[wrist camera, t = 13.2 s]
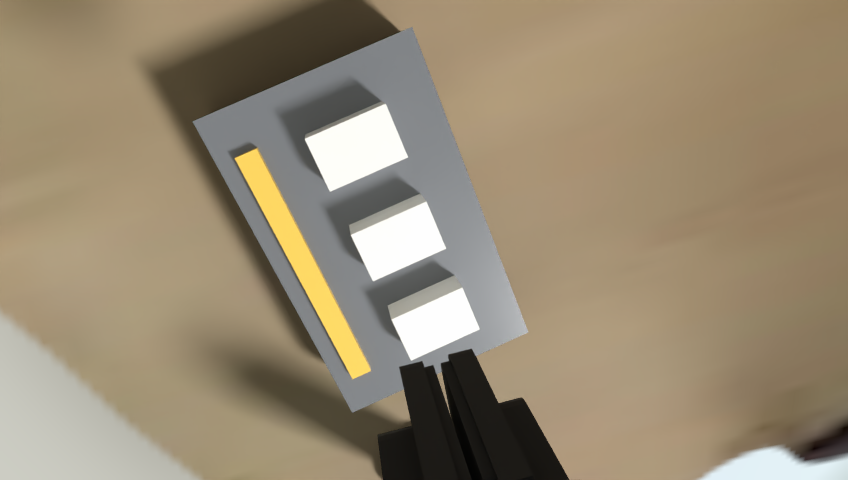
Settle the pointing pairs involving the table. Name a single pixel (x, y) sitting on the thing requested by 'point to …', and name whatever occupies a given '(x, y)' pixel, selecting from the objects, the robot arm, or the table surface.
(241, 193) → the switch panel
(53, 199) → the table surface
